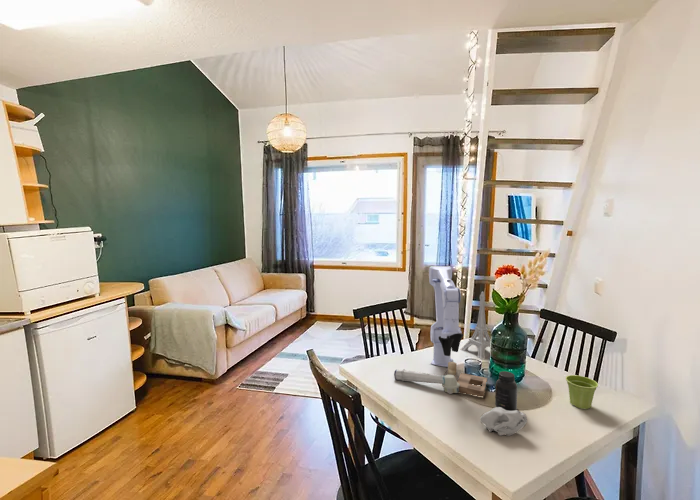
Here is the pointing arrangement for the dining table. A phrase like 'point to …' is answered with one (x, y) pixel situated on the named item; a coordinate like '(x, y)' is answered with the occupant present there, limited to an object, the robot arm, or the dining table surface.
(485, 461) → the dining table surface
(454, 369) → the peg
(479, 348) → the eiffel tower
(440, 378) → the gray mallet
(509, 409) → the supplement bottle
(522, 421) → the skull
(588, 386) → the plant pot
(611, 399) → the dining table surface
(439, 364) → the robot arm
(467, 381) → the socket block
